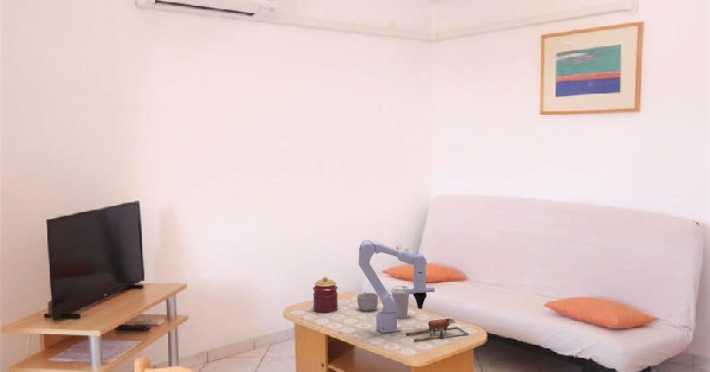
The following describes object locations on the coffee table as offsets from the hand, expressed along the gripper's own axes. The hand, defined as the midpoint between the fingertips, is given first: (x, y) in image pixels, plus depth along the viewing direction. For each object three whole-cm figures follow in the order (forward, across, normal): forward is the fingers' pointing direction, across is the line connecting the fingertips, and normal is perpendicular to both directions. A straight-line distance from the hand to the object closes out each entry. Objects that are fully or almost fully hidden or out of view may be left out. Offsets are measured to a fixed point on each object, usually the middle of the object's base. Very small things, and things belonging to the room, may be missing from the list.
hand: (419, 308), depth 290 cm
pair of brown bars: (+10, -3, -11) cm, 15 cm away
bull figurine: (+10, +6, -11) cm, 16 cm away
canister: (+10, -33, +47) cm, 58 cm away
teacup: (+10, -12, +40) cm, 43 cm away
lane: (+10, +10, -11) cm, 18 cm away
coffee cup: (+10, -1, +21) cm, 24 cm away
